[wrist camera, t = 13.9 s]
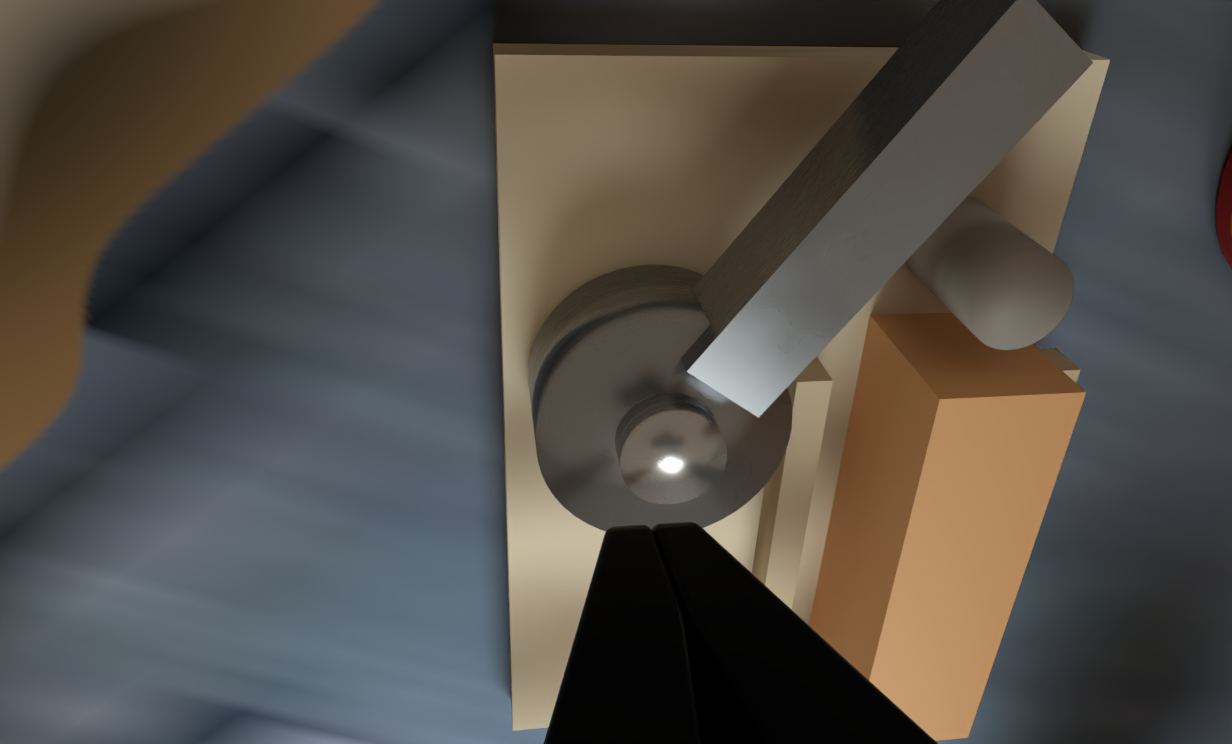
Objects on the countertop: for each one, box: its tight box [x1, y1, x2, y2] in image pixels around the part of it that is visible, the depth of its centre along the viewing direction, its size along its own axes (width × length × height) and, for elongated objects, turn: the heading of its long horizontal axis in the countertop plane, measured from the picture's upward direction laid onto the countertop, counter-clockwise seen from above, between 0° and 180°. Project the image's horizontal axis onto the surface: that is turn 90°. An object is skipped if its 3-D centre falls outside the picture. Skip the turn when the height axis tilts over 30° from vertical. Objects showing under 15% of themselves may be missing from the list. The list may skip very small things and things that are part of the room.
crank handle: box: [528, 0, 1093, 531], centre depth 17 cm, size 12×5×3 cm, turn 142°
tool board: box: [493, 43, 1110, 731], centre depth 21 cm, size 18×13×4 cm
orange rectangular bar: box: [809, 312, 1086, 741], centre depth 22 cm, size 10×3×4 cm, turn 178°
